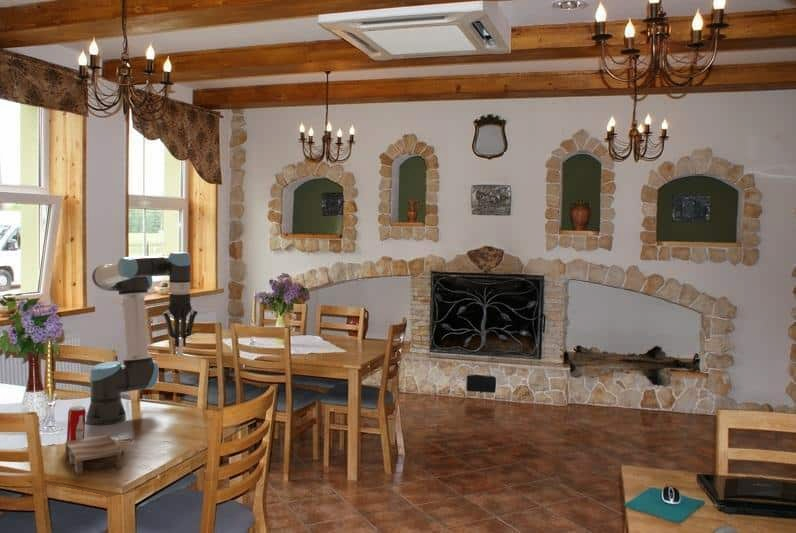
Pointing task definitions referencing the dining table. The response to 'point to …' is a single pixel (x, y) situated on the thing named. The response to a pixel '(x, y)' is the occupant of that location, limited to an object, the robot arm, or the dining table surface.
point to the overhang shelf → (91, 451)
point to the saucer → (101, 461)
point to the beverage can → (76, 423)
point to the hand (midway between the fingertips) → (180, 355)
